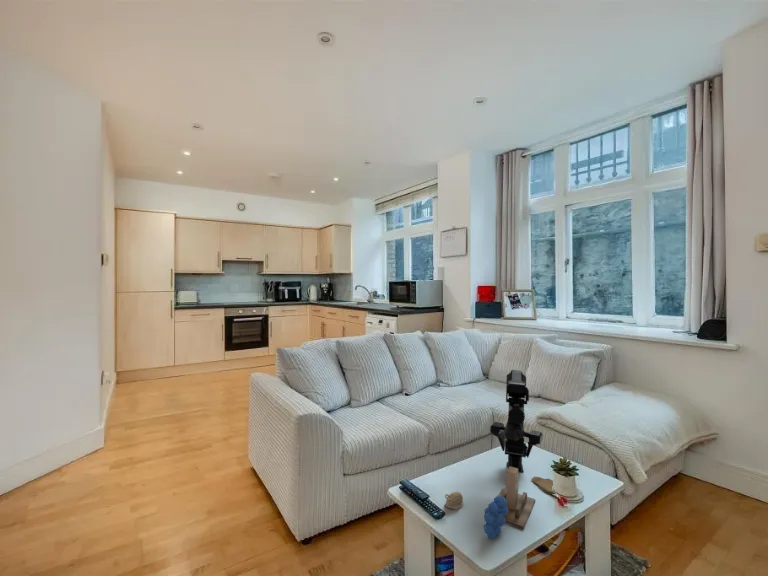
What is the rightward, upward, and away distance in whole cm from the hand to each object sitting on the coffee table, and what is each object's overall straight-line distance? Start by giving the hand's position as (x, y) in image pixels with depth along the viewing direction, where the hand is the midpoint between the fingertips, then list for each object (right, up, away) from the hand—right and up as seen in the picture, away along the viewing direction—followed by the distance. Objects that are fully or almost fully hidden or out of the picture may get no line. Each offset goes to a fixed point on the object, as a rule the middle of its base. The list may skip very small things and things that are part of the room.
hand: (515, 453), depth 143 cm
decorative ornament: (-27, -13, -12) cm, 32 cm away
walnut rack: (-6, -13, -13) cm, 20 cm away
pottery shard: (+13, -14, 0) cm, 19 cm away
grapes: (-16, -14, -26) cm, 34 cm away
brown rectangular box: (-6, -12, -13) cm, 19 cm away
